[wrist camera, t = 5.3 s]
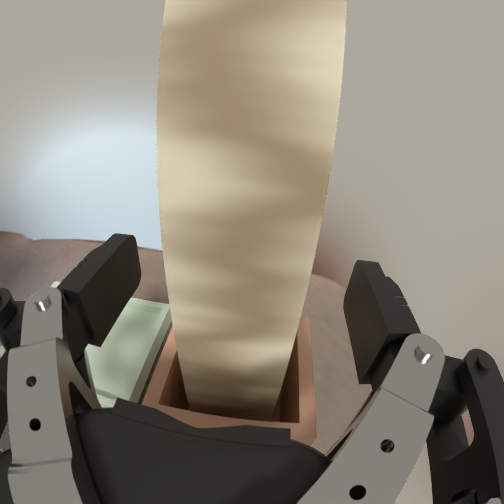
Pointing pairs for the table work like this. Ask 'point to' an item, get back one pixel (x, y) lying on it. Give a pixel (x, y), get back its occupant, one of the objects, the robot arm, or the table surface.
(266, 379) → the post
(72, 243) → the table surface
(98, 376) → the tray
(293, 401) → the salmon pink open box
